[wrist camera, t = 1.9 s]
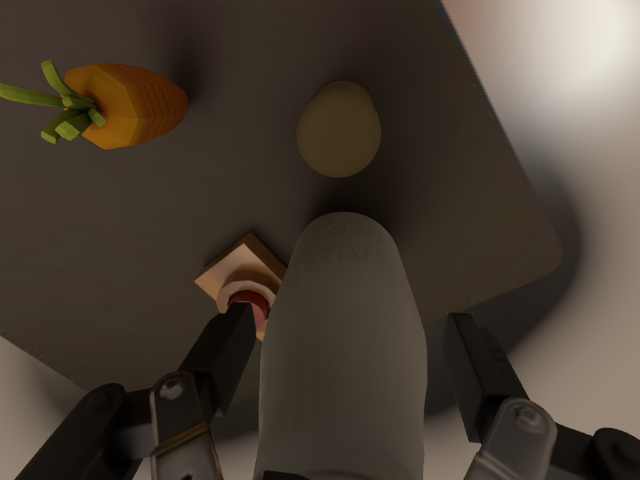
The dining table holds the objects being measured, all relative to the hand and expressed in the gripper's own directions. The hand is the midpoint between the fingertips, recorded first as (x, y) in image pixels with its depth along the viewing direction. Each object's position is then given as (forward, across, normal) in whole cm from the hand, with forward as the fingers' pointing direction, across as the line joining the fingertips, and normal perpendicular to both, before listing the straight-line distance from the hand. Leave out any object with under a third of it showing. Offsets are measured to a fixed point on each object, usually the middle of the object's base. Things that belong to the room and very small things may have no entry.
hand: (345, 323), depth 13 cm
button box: (+19, +11, +12) cm, 25 cm away
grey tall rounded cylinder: (+20, +1, +6) cm, 21 cm away
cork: (+20, +1, -6) cm, 21 cm away
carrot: (+19, +15, -8) cm, 26 cm away
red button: (+15, +11, +12) cm, 22 cm away
